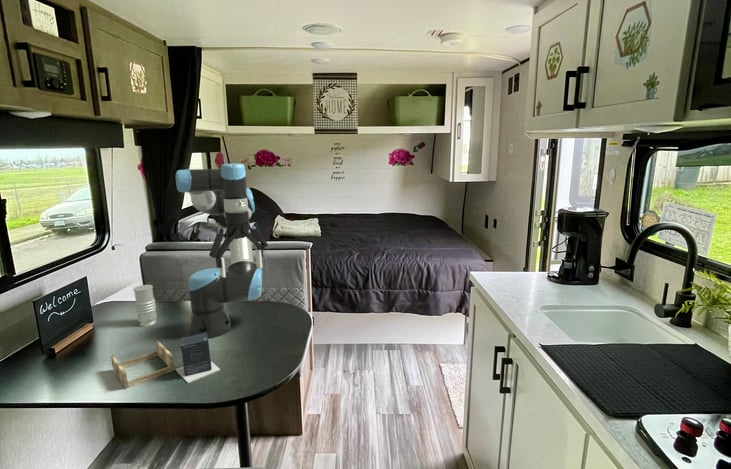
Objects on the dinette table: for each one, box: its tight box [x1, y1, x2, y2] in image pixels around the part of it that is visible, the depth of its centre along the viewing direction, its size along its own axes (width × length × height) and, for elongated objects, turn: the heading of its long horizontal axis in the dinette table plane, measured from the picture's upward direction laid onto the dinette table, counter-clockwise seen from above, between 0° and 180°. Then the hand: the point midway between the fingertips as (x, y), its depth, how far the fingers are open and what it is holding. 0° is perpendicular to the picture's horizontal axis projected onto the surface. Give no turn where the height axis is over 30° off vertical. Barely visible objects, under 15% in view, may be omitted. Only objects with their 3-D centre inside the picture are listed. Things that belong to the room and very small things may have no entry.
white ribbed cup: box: [132, 284, 158, 327], centre depth 159 cm, size 7×7×15 cm
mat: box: [175, 361, 221, 384], centre depth 126 cm, size 10×10×1 cm
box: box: [180, 333, 212, 376], centre depth 125 cm, size 8×6×11 cm
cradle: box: [110, 340, 176, 390], centre depth 126 cm, size 14×14×5 cm
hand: (241, 271), depth 137 cm, fingers open, 13 cm apart
